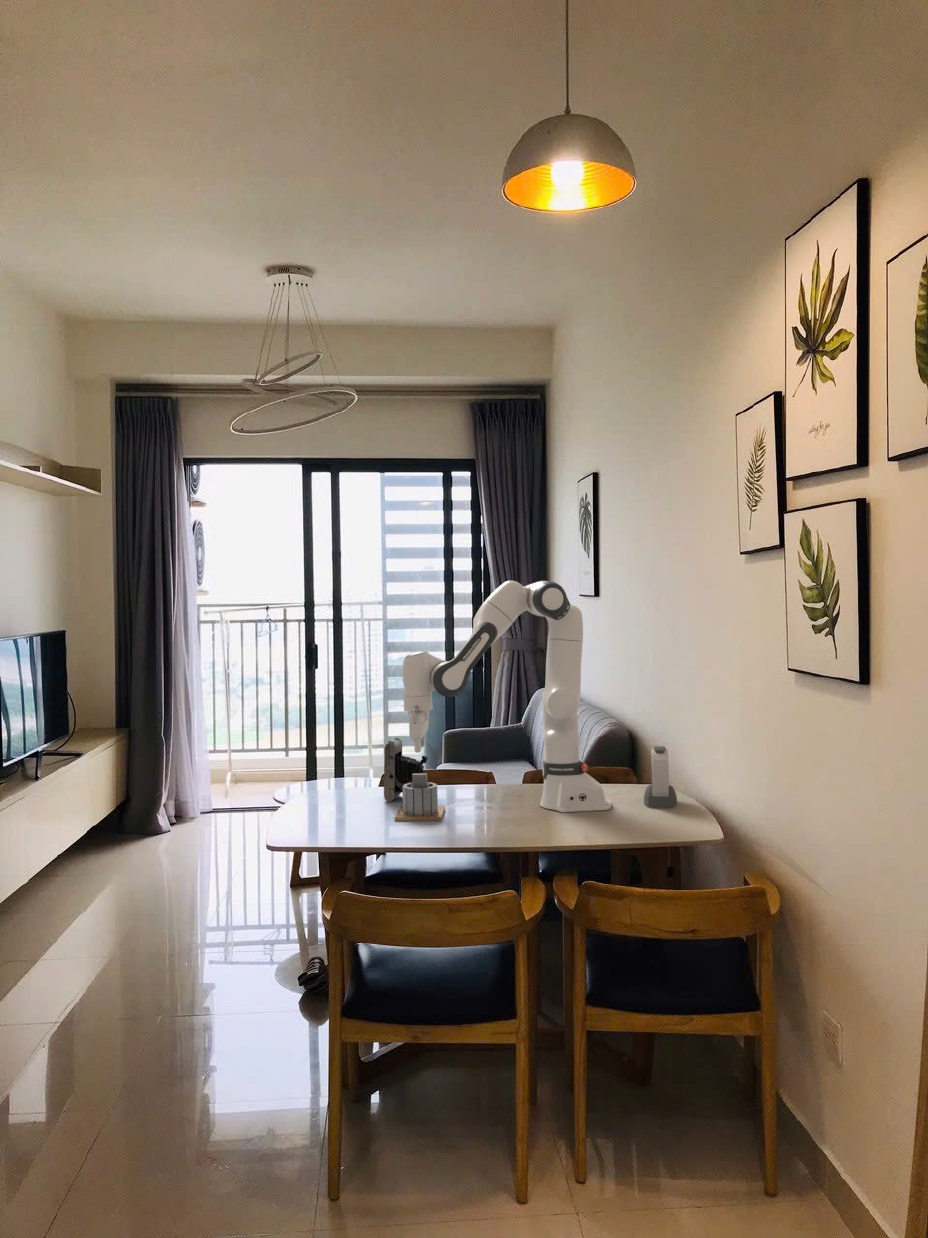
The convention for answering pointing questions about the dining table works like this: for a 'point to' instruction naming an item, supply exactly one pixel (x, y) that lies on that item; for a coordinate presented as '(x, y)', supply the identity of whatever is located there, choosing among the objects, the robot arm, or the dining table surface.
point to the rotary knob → (419, 781)
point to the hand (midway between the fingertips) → (419, 749)
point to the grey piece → (660, 782)
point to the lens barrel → (420, 804)
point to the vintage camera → (398, 769)
